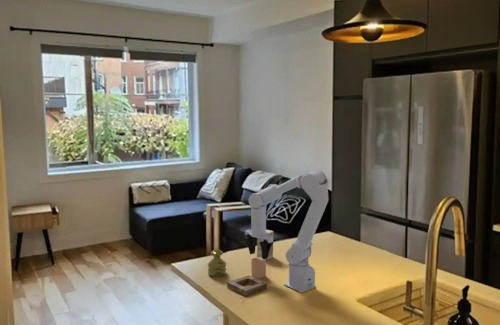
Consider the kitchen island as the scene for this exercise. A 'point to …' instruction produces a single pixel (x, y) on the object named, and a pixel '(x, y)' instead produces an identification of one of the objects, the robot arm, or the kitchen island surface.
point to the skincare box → (259, 251)
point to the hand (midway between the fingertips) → (258, 256)
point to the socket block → (256, 287)
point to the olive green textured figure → (217, 264)
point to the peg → (258, 267)
